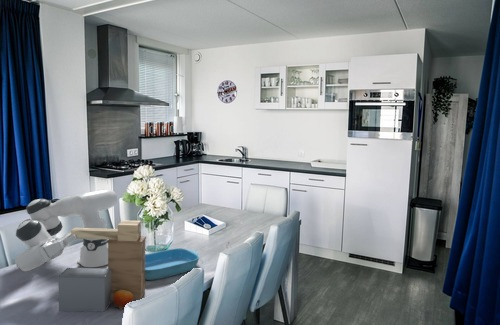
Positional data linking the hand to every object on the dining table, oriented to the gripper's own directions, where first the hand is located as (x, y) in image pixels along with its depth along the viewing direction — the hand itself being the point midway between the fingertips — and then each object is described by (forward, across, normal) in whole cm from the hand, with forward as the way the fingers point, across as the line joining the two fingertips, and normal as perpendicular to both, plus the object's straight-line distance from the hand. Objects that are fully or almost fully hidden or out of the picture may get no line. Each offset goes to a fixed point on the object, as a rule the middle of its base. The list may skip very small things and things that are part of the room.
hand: (80, 232), depth 155 cm
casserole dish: (+13, -29, -40) cm, 51 cm away
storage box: (-9, +9, -27) cm, 30 cm away
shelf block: (+3, 0, -34) cm, 34 cm away
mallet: (+8, 0, -7) cm, 11 cm away
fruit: (+4, +9, -35) cm, 36 cm away
